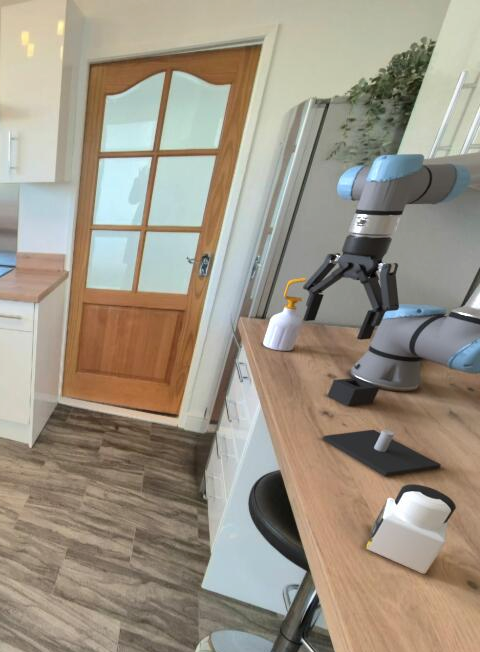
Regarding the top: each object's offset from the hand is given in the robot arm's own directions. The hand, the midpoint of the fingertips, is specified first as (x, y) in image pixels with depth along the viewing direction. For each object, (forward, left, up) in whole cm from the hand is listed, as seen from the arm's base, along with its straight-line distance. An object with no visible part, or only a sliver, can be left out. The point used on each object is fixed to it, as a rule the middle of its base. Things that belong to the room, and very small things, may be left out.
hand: (334, 329), depth 101 cm
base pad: (-1, +18, -23) cm, 29 cm away
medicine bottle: (+24, +41, -23) cm, 53 cm away
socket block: (-19, -4, -23) cm, 30 cm away
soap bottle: (-32, -42, -23) cm, 58 cm away
